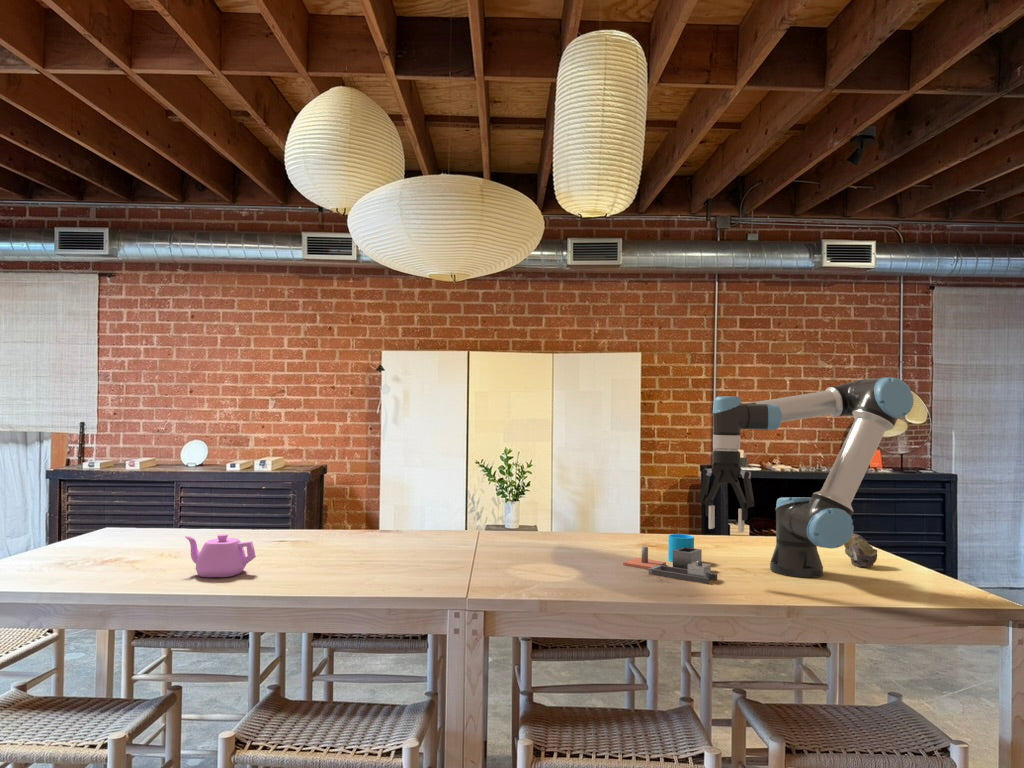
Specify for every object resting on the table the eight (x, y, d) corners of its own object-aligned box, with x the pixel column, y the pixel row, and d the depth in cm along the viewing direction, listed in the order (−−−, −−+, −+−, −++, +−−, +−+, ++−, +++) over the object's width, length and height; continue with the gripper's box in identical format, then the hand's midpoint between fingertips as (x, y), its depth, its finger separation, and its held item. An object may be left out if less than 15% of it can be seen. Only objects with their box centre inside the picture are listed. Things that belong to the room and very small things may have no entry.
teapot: (192, 568, 201) (194, 530, 202) (261, 569, 202) (263, 531, 203) (172, 579, 188) (174, 538, 189) (246, 579, 189) (248, 539, 190)
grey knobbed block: (710, 578, 200) (710, 560, 200) (704, 581, 196) (704, 563, 196) (694, 575, 203) (694, 558, 203) (687, 578, 199) (687, 561, 199)
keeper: (666, 564, 218) (666, 546, 219) (652, 569, 211) (652, 551, 211) (637, 560, 225) (637, 542, 225) (623, 565, 217) (623, 547, 217)
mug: (697, 563, 221) (697, 538, 221) (672, 563, 220) (673, 538, 220) (684, 556, 233) (685, 532, 233) (661, 556, 232) (661, 532, 232)
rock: (835, 564, 223) (835, 534, 223) (848, 561, 229) (848, 531, 230) (870, 570, 215) (870, 539, 215) (882, 566, 221) (882, 535, 222)
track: (717, 579, 200) (717, 574, 200) (707, 584, 194) (707, 578, 194) (659, 569, 211) (659, 564, 211) (648, 573, 205) (648, 568, 205)
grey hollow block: (701, 568, 213) (701, 549, 214) (691, 573, 207) (691, 553, 207) (683, 565, 217) (683, 546, 217) (672, 570, 211) (672, 550, 211)
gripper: (767, 451, 193) (767, 532, 192) (697, 448, 205) (696, 524, 204) (758, 452, 187) (758, 536, 186) (686, 448, 199) (686, 527, 198)
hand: (726, 529), depth 195 cm, fingers open, 8 cm apart
